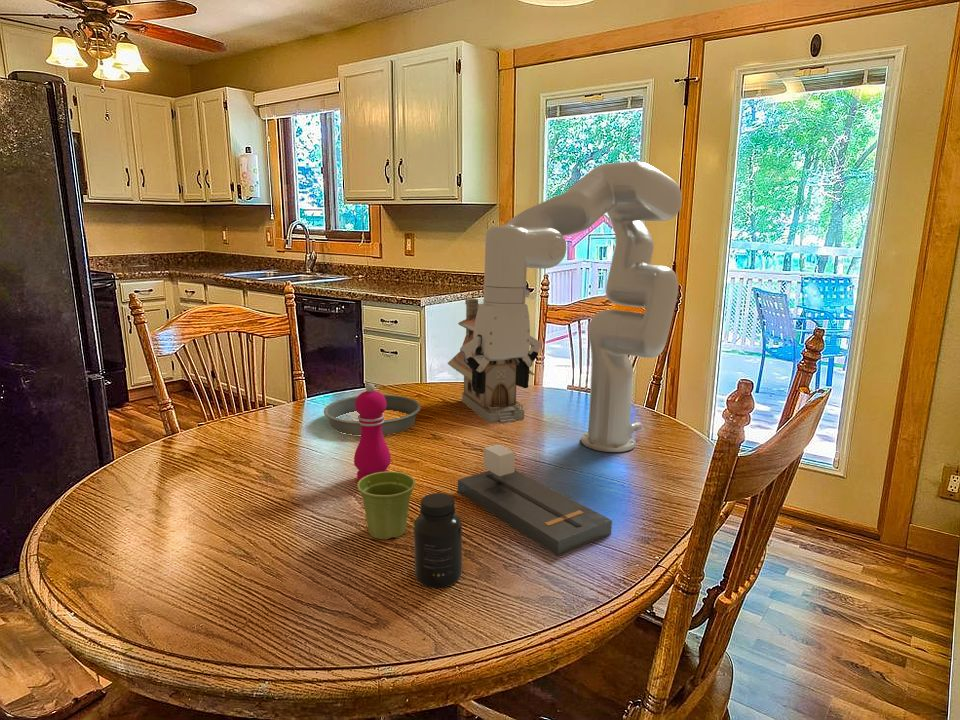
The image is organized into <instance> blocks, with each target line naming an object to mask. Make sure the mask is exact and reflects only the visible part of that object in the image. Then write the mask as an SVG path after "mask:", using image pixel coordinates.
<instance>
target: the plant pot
mask: <svg viewBox="0 0 960 720" xmlns="http://www.w3.org/2000/svg"><path fill="white" fill-rule="evenodd" d="M356 484H357V485H356V486H357V489H358V491H359V492H360V496H361V498H362V500H363V506H364V512H365V517H366V524H367V529H368V533H369V534H370V535H371V537H372V538H375V539H379V540H388V539H391V538H397V539H398V538H399V537H401V536H403V534H405V532H406V529H407V522H408V516H409V515H408V514H409V508H410V507H409V506H410V501H411V495H412V493H413V490H414V488H415V486H416V480H415V478H414V477H413V476H411V475H410V474H408V473H404V472H401V471H392V470H391V471H390V470H388V471H387V472H378V473H373V474H370V475H367V476H365V477H363V478H362V479H361V480H359V482H357V483H356Z"/></svg>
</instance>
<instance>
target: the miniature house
mask: <svg viewBox="0 0 960 720" xmlns="http://www.w3.org/2000/svg"><path fill="white" fill-rule="evenodd" d="M464 301H465V303H464V304H465V306H466V307H465V308H466V310H465V311H466V313H465V314H466V315H465V316H466V317H465V319H463V320H461V321H459V322H458V323H457V324H458V325H459V326H460V327H463V328H464V329H465V336H464V340H463V342H462V345H461V347H462V346H463V345H465V344H467V343H468V342H470V341H471V340H473V335H474V327H475V320H476V315H477V311H478V307H479V304H480V303H479V299H478V298H475V297H473V298H465V300H464ZM471 354H472V357H473V358H475V357H476V356H474V355H473V350H472V352H471ZM518 364H519V362H518V361H517V359H508V360H497V361H489V362H488V364H487V365H486V367H485V368H484V369H483V372H485V373H486V379H485V393H484V394H480V393H477V392H475V391H473V387H472V370H471V369H470V368H469V366H468V365H467V364H466V363H465V361H464V358H463V356H462V353H461V351H459V352H458V353H457V354H455V356H454V357H452V358H451V359H450V360H449V361H448V362H447V365H449V366H450V367H451V368H452V369H454V370H455V371H457V372H458V373H460V374H461V375H462V376H463V392H462V393H461V402H462V403H463V404H464V403H465V404H466V405H467V406H466V405H465V404H464V405H465V406H466V407H467V408H469V409H470V408H471V409H472V410H471V409H470V410H471V411H472V412H474V413H475V414H476V413H477V415H478V416H479V417H480V418H481V419H482V420H484V421H485V422H486V423H487V424H489V425H490V424H497V423H499V424H509V422H510V423H516V421H515V420H517V421H524V420H525V409H524V408H523V406H524V404H522V403H521V402H519V401H518V400H517V385H516V384H515V382H516V366H517V365H518ZM529 375H531V376H535V373H534V372H533V371H532V370H531V369H529ZM523 419H524V420H523Z"/></svg>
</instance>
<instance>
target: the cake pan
mask: <svg viewBox="0 0 960 720" xmlns="http://www.w3.org/2000/svg"><path fill="white" fill-rule="evenodd" d="M358 396H359V395H357V396H351V397H346V398H342V399H338V400H336V401H333V402H332V403H329V404H328V405H326V407H324V409H323V414H324V416H325V417H326V418H328V420H329V423H330V425H331V428H332V427H333V428H334V429H335V430H337V431H339V432H342V433H346V434H352V435H361V425H360V424H359V423H358V421H353V420H348V419H341V418H336V417H338V416H340V415H343V414H346V413H349V412H354V411H356V408H355V402H356V399H357V397H358ZM383 396H384V397H385V399H386V409H385V410H393V411H399V412H402V413H406V414H408V415H406V416H403V417H400V418H395V419H390V420H384V423H383V424H382V434H383V435H385V436H389V435H388V434H391V435H394V434H393V433H395V434H399V433H402V432H405V431H406V430H410V429H411V428H412V427H413V426H414V425H415V423H416V419H417V414H418V413H419V412H420V411H421V409H422V405H421V403H420V402H419V401H417V400H416V399H413V398H410V397H407V396H403V395H396V394H383ZM410 427H411V428H410ZM333 428H332V429H333ZM334 429H333V430H334ZM335 430H334V431H335ZM404 430H405V431H404ZM337 431H336V432H337ZM401 431H402V432H401ZM339 432H338V433H339ZM398 432H399V433H398ZM342 433H341V434H342ZM346 434H345V435H346Z"/></svg>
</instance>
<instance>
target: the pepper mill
mask: <svg viewBox="0 0 960 720" xmlns="http://www.w3.org/2000/svg"><path fill="white" fill-rule="evenodd" d="M375 389H376V387H375V384H374V383H372V382H370V383H367V384H366V385H365V391H363V392H361V393H359V395H357V396H358V397H357V399H356V402H355V408H356V411H357V412H358V413H359V414H360V415H359V416H358V419H359V421H358V423H359V424H360V425H361V436H360V438H359V442H358V445H357V447H356V450H355V453H354V457H353V464H354V466H355V468H356V469H357V470H358V471H357V472H356V481H357V483H358V482H359V480H361V479H362V478H363V477H365V476H367V475H370V474H373V473H378V472H387V471H389V469H388V467H389V466H390V465H391V461H392V457H391V452H390V449H389V447H388V445H387V443H386V440H385V438H384V436H383V434H382V424H383V423H384V415H383V414H382V413H383V412H384V411H385V409H386V399H385V397H384V396H383V395H384V394H383V393H381V392H380V391H377V390H375Z"/></svg>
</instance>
